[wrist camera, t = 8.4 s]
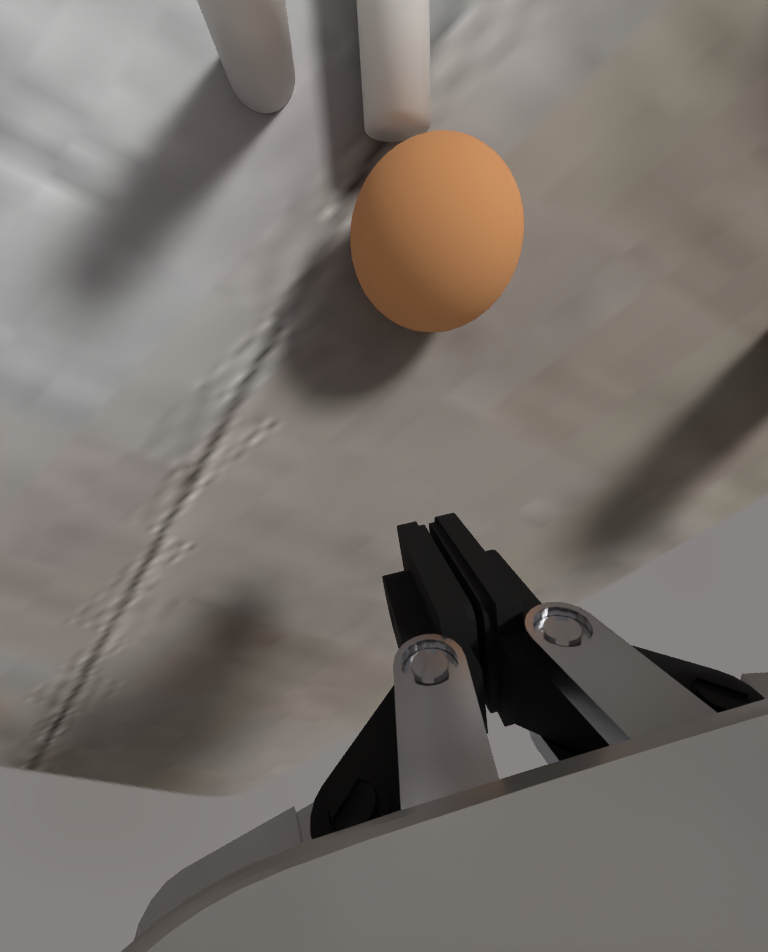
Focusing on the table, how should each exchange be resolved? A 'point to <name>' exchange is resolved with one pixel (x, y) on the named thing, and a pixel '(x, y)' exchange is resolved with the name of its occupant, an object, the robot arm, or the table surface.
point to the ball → (437, 231)
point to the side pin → (253, 49)
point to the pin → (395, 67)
